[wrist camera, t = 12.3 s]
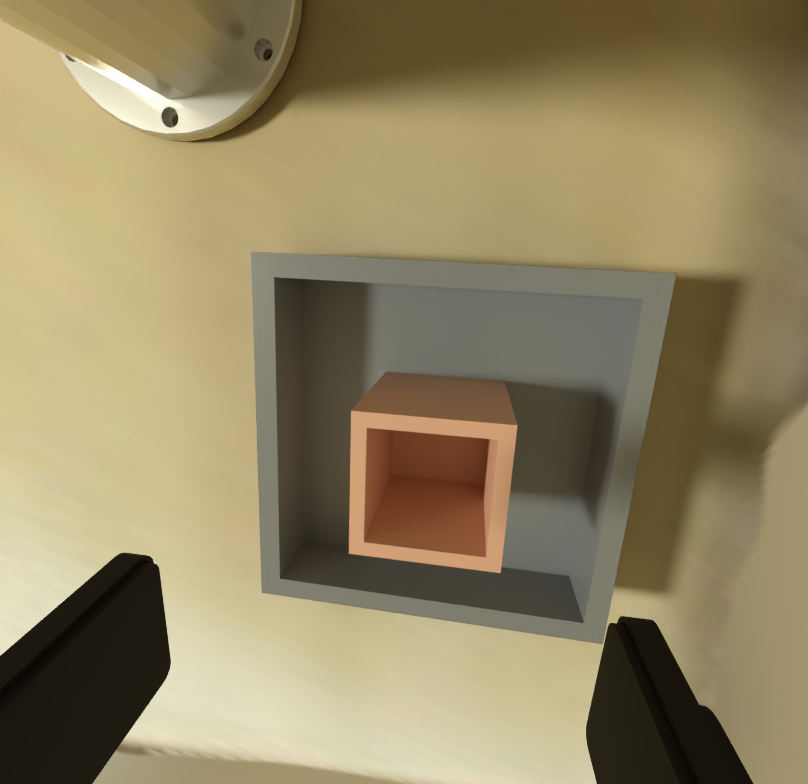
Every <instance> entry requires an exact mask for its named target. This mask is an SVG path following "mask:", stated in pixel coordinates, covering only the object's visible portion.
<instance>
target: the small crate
mask: <svg viewBox="0 0 808 784" xmlns="http://www.w3.org/2000/svg"><path fill="white" fill-rule="evenodd" d="M516 434H517V422H516V419H515V415H514V412H513V408H512V405H511V401H510V398H509V394H508V391H507V387H506V384H505V381H500V380H487V379H474V378H461V377H448V376H434V375H421V374H408V373H395V372H385V373H384V375H383V376H382V377H381V378H380V379H379V380H378V381H377V382H376V384H375V385H374V386H373V387H372V388H371V389H370V390H369V391H368V392H367V394H366V395H365V396H364V397H363V398H362V399H361V400H360V401H359V403H358V404H357V405H356V406H355V407H354V408H353V409H352V410H351V449H350V512H349V554H356V555H363V556H371V557H379V558H387V559H394V560H402V561H410V562H418V563H425V564H433V565H441V566H449V567H456V568H464V569H472V570H480V571H487V572H495V573H501V566H502V557H503V548H504V539H505V531H506V522H507V513H508V504H509V496H510V487H511V478H512V469H513V461H514V452H515V443H516Z"/></svg>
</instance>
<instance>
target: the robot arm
mask: <svg viewBox="0 0 808 784" xmlns="http://www.w3.org/2000/svg"><path fill="white" fill-rule="evenodd" d="M302 1H303V0H0V20H2V21H4V22H5V23H7V24H9V25H11V26H13V27H15V28H17V29H18V30H20V31H22V32H24V33H26V34H28V35H30V36H32V37H33V38H35V39H37V40H39V41H41V42H43V43H45V44H46V45H48V46H50V47H52V48H54V49H56V50H57V52H58V54H59V55H60V57H61V59H62V61H63V63H64V65H65V67H66V69H67V70H68V71H69V73H70V74H71V75H72V77H73V78H74V80H75V81H76V82H77V84H78V85H79V86H80V88H81V89H82V90H83V91H84V92H85V93H86V94H87V95H88V96H89V97H90V98H91V99H92V100H93V101H94V102H95V103H96V104H97V105H98V106H99V107H100V108H101V109H102V110H104V111H105V112H107V113H108V114H110V115H111V116H113V117H114V118H116V119H117V120H119V121H120V122H121V123H123V124H126V125H128V126H130V127H132V128H134V129H137V130H139V131H141V132H143V133H146V134H149V135H153V136H156V137H159V138H163V139H166V140H178V141H193V140H200V139H206V138H211V137H214V136H216V135H219V134H221V133H224V132H226V131H229V130H231V129H233V128H234V127H236V126H237V125H239V124H240V123H242V122H243V121H244V120H246V119H247V118H249V117H250V116H252V115H253V113H254V112H255V111H256V110H257V109H258V108H259V107H260V106H261V105H262V104H263V103H264V102H265V101H266V100H267V99H268V98H269V96H270V95H271V93H272V92H273V90H274V89H275V87H276V85H277V84H278V82H279V81H280V79H281V78H282V76H283V74H284V72H285V70H286V67H287V65H288V62H289V60H290V58H291V55H292V53H293V50H294V47H295V43H296V39H297V35H298V30H299V26H300V22H301V14H302ZM270 54H272V56H271V57H270V59H269V60H267V59H268V56H269V55H270ZM170 664H171V659H170V651H169V643H168V635H167V627H166V620H165V612H164V604H163V596H162V588H161V580H160V572H159V567H158V566H157V564H154V562H153V559H152V558H151V557H150V556H146V555H139V554H131V553H121V554H119V555H117V556H116V557H114V558H113V559H112V560H111V561H110V562H109V563H107V564H106V565H105V566H104V567H103V568H102V569H101V570H99V571H98V572H97V573H96V574H95V575H94V576H92V577H91V578H90V579H89V580H88V581H87V582H85V583H84V584H83V585H82V586H81V587H80V588H78V589H77V590H76V591H75V592H74V593H73V594H72V595H70V596H69V597H68V598H67V599H66V600H65V601H63V602H62V603H61V604H60V605H59V606H58V607H56V608H55V609H54V610H53V611H52V612H51V613H50V614H48V615H47V616H46V617H45V618H44V619H43V620H41V621H40V622H39V623H38V624H37V625H36V626H34V627H33V628H32V629H31V630H30V631H29V632H28V633H26V634H25V635H24V636H23V637H22V638H21V639H19V640H18V641H17V642H16V643H15V644H14V645H12V646H11V647H10V648H9V649H8V650H7V651H5V652H4V653H3V654H2V655H1V656H0V784H92V783H93V782H94V780H95V779H96V777H97V776H98V775H99V773H100V772H101V771H102V769H103V768H104V766H105V765H106V763H107V762H108V761H109V759H110V758H111V756H112V755H113V753H114V752H115V751H116V749H117V748H118V746H119V745H120V744H121V742H122V741H123V739H124V738H125V736H126V735H127V734H128V732H129V731H130V729H131V728H132V726H133V725H134V724H135V722H136V721H137V719H138V718H139V717H140V715H141V714H142V712H143V711H144V709H145V708H146V707H147V705H148V704H149V702H150V701H151V699H152V698H153V697H154V695H155V694H156V692H157V691H158V690H159V688H160V687H161V685H162V684H163V682H164V681H165V679H166V677H167V675H168V672H169V669H170ZM586 738H587V745H588V750H589V754H590V758H591V762H592V766H593V770H594V774H595V778H596V782H597V784H753V782H752V780H751V779H750V777H749V775H748V773H747V771H746V770H745V768H744V766H743V764H742V762H741V761H740V759H739V757H738V755H737V753H736V751H735V750H734V748H733V746H732V744H731V742H730V740H729V739H728V737H727V735H726V733H725V731H724V729H723V728H722V726H721V724H720V722H719V721H718V719H717V718H716V716H715V715H714V713H713V712H712V711H711V710H710V709H709V708H707V707H706V706H702V705H699V704H698V702H697V700H696V698H695V696H694V694H693V692H692V690H691V688H690V687H689V685H688V683H687V681H686V679H685V677H684V675H683V673H682V671H681V669H680V667H679V666H678V664H677V662H676V660H675V658H674V656H673V654H672V652H671V650H670V648H669V647H668V645H667V643H666V641H665V639H664V637H663V635H662V633H661V631H660V629H659V628H658V626H657V624H656V623H655V622H654V621H653V620H648V619H640V618H632V617H625V616H622V617H620V618H619V619H618V622H617V624H615V623H610V624H609V626H608V629H607V634H606V638H605V643H604V648H603V652H602V657H601V661H600V666H599V670H598V675H597V680H596V684H595V689H594V693H593V698H592V702H591V707H590V711H589V716H588V721H587V726H586Z"/></svg>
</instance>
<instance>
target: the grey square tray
mask: <svg viewBox="0 0 808 784" xmlns="http://www.w3.org/2000/svg"><path fill="white" fill-rule="evenodd" d="M251 261H252V293H253V325H254V357H255V389H256V421H257V453H258V485H259V517H260V549H261V581H262V593H268V594H275V595H281V596H288V597H294V598H301V599H308V600H314V601H321V602H328V603H334V604H341V605H347V606H354V607H361V608H367V609H374V610H380V611H387V612H394V613H400V614H407V615H413V616H420V617H427V618H433V619H440V620H446V621H453V622H460V623H466V624H473V625H480V626H486V627H493V628H499V629H506V630H513V631H519V632H526V633H532V634H539V635H546V636H552V637H559V638H565V639H572V640H579V641H585V642H592V643H598V644H603V640H604V635H605V630H606V625H607V620H608V615H609V609H610V604H611V599H612V594H613V589H614V584H615V579H616V574H617V569H618V564H619V559H620V554H621V549H622V544H623V539H624V534H625V529H626V524H627V519H628V514H629V509H630V504H631V499H632V494H633V489H634V484H635V479H636V474H637V469H638V464H639V459H640V454H641V449H642V444H643V439H644V434H645V429H646V424H647V419H648V414H649V409H650V404H651V399H652V394H653V389H654V384H655V379H656V374H657V369H658V364H659V359H660V354H661V349H662V344H663V339H664V334H665V329H666V324H667V319H668V314H669V309H670V304H671V299H672V294H673V289H674V283H675V278H676V274H672V273H652V272H633V271H614V270H595V269H576V268H556V267H537V266H518V265H499V264H479V263H460V262H441V261H422V260H403V259H383V258H364V257H345V256H326V255H307V254H287V253H268V252H251ZM385 372H395V373H408V374H421V375H434V376H448V377H461V378H474V379H487V380H500V381H505V384H506V387H507V391H508V394H509V398H510V401H511V405H512V408H513V412H514V415H515V419H516V422H517V434H516V443H515V452H514V461H513V469H512V478H511V487H510V496H509V504H508V513H507V522H506V531H505V539H504V548H503V557H502V566H501V573H495V572H487V571H480V570H472V569H464V568H456V567H449V566H441V565H433V564H425V563H418V562H410V561H402V560H394V559H387V558H379V557H371V556H363V555H356V554H349V512H350V449H351V410H352V409H353V408H354V407H355V406H356V405H357V404H358V403H359V401H360V400H361V399H362V398H363V397H364V396H365V395H366V394H367V392H368V391H369V390H370V389H371V388H372V387H373V386H374V385H375V384H376V382H377V381H378V380H379V379H380V378H381V377H382V376H383V375H384V373H385Z"/></svg>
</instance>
